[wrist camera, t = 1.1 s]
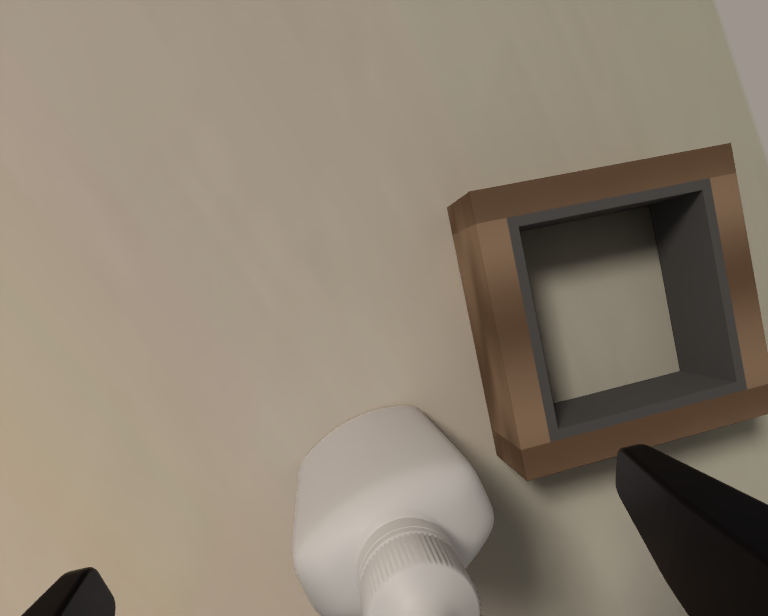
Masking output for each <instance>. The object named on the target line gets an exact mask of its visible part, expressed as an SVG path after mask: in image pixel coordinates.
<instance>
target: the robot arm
mask: <svg viewBox="0 0 768 616" xmlns="http://www.w3.org/2000/svg"><path fill="white" fill-rule="evenodd" d="M616 488H617V492H618V494H619V497H620V499H621V500H622V502H623V504H624V506H625V508H626V510H627V511H628V513H629V515H630V517H631V519H632V521H633V522H634V524H635V526H636V528H637V530H638V532H639V533H640V535H641V537H642V539H643V541H644V542H645V544H646V546H647V548H648V550H649V552H650V553H651V555H652V557H653V559H654V561H655V563H656V564H657V566H658V568H659V570H660V572H661V573H662V575H663V577H664V578H665V580H666V582H667V584H668V585H669V587H670V588H671V590H672V591H673V593H674V594H675V596H676V597H677V599H678V600H679V602H680V603H681V605H682V606H683V608H684V609H685V611H686V612H687V614H688V615H689V616H768V505H767V504H765V503H763V502H761V501H759V500H757V499H755V498H753V497H751V496H749V495H747V494H745V493H743V492H741V491H739V490H737V489H735V488H733V487H731V486H729V485H727V484H725V483H723V482H721V481H719V480H717V479H715V478H713V477H711V476H708V475H706V474H704V473H702V472H700V471H698V470H696V469H694V468H692V467H690V466H688V465H686V464H684V463H682V462H680V461H678V460H676V459H674V458H672V457H670V456H668V455H666V454H664V453H662V452H660V451H658V450H656V449H654V448H652V447H650V446H647V445H645V444H635V445H631V446H627V447H622V448H620V449H619V451H618V453H617V465H616ZM22 616H115V600H114V597H113V595H112V593H111V592H110V590H109V589H108V587H107V585H106V584H105V582H104V581H103V579H102V577H101V576H100V574H99V572H98V571H97V570H96V569H94V568H92V567H87V568H83V569H78V570H74V571H70V572H67V573H65V574H64V575H62V576H61V577H60V578H59V579H58V580H57V581H56V582H55V583H54V584H53V585H52V586H51V587H50V588H49V589H48V590H47V591H46V592H45V593H44V594H43V595H42V596H41V597H40V598H39V599H38V600H37V601H36V602H35V603H34V604H33V605H32V606H31V607H30V608H29V609H28V610H27V611H26V612H25V613H24V614H23V615H22Z"/></svg>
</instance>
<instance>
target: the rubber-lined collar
mask: <svg viewBox="0 0 768 616" xmlns="http://www.w3.org/2000/svg"><path fill="white" fill-rule="evenodd" d="M648 205H650V209H651V215H652V220H653V226H654V231H655V236H656V242H657V247H658V253H659V258H660V264H661V269H662V275H663V280H664V286H665V291H666V296H667V302H668V307H669V313H670V318H671V324H672V329H673V335H674V340H675V346H676V351H677V356H678V362H679V367H680V371H679V372H675V373H671V374H668V375H664V376H660V377H656V378H652V379H648V380H644V381H640V382H636V383H632V384H629V385H625V386H621V387H617V388H613V389H609V390H605V391H601V392H597V393H593V394H590V395H586V396H582V397H578V398H574V399H570V400H566V401H562V402H558V403H554V404H553V400H552V395H551V390H550V385H549V380H548V374H547V369H546V364H545V359H544V354H543V349H542V344H541V339H540V334H539V328H538V323H537V318H536V313H535V308H534V303H533V298H532V293H531V288H530V282H529V277H528V272H527V267H526V262H525V257H524V252H523V247H522V242H521V236H520V231H524V230H529V229H534V228H539V227H543V226H548V225H553V224H558V223H563V222H568V221H573V220H578V219H583V218H588V217H593V216H598V215H603V214H608V213H613V212H618V211H623V210H628V209H633V208H638V207H643V206H648ZM447 210H448V215H449V219H450V224H451V229H452V234H453V239H454V244H455V249H456V254H457V259H458V264H459V269H460V274H461V279H462V284H463V289H464V294H465V299H466V304H467V309H468V314H469V319H470V324H471V329H472V334H473V338H474V343H475V348H476V353H477V358H478V363H479V368H480V373H481V378H482V383H483V388H484V393H485V398H486V403H487V408H488V413H489V418H490V423H491V428H492V433H493V438H494V443H495V448H496V453H497V456H498V457H500V458H501V459H502V460H503V461H504V462H505V463H507V464H508V465H509V466H510V467H511V468H513V469H514V470H515V471H516V472H517V473H518V474H520V475H521V476H522V477H523V478H524V479H525V480H527V481H529V480H532V479H536V478H540V477H543V476H547V475H550V474H554V473H557V472H561V471H565V470H568V469H572V468H575V467H579V466H583V465H586V464H590V463H593V462H597V461H601V460H604V459H608V458H611V457H615V456H617V453H618V451H619V449H620V448H622V447H627V446H631V445H635V444H645V445H647V446H650V447H651V446H655V445H658V444H662V443H665V442H669V441H673V440H676V439H680V438H683V437H687V436H691V435H694V434H698V433H701V432H705V431H709V430H712V429H716V428H719V427H723V426H727V425H730V424H734V423H737V422H741V421H744V420H748V419H752V418H755V417H759V416H762V415H766V414H768V352H767V347H766V341H765V335H764V329H763V324H762V318H761V312H760V307H759V301H758V295H757V289H756V284H755V278H754V272H753V267H752V261H751V255H750V249H749V244H748V238H747V232H746V227H745V221H744V215H743V209H742V204H741V198H740V192H739V187H738V181H737V175H736V169H735V164H734V158H733V152H732V147H731V143H728V144H723V145H718V146H712V147H707V148H701V149H696V150H691V151H685V152H680V153H675V154H669V155H664V156H658V157H653V158H648V159H642V160H637V161H631V162H626V163H621V164H615V165H610V166H605V167H599V168H594V169H588V170H583V171H578V172H572V173H567V174H561V175H556V176H551V177H545V178H540V179H535V180H529V181H524V182H518V183H513V184H508V185H502V186H497V187H492V188H486V189H481V190H475V191H470V192H468V193H467V194H465V195H464V196H463V197H461V198H460V199H458V200H457V201H456V202H454V203H453V204H451V205H450V206H449V207H447Z"/></svg>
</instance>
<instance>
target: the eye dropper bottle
mask: <svg viewBox="0 0 768 616" xmlns="http://www.w3.org/2000/svg"><path fill="white" fill-rule="evenodd" d="M493 525H494V512H493V508H492V505H491V503H490V500H489V498H488V496H487V493H486V491H485V489H484V487H483V485H482V483H481V481H480V479H479V477H478V475H477V473H476V471H475V470H474V468H473V466H472V465H471V464H470V463H469V462H468V460H467V459H466V458H465V457H464V456H463V455H462V454H461V452H460V451H459V450H458V449H457V448H456V447H455V446H454V445H453V444H452V443H451V442H450V441H449V440H448V439H447V438H446V436H445V435H444V434H443V433H442V432H441V431H440V430H439V429H438V428H437V427H436V426H435V425H434V424H433V423H432V422H431V421H430V420H429V419H428V418H427V416H426V415H425V414H424V413H423V412H422V411H421V410H420V409H419V408H416V407H413V406H393V407H386V408H381V409H377V410H373V411H370V412H367V413H364V414H361V415H359V416H357V417H354V418H352V419H350V420H348V421H347V422H345V423H343V424H342V425H340V426H338V427H337V428H335V429H334V430H333V431H331V432H330V433H329V434H327V435H326V436H325V437H324V438H323V439H322V440H320V441H319V442H318V443H317V444H316V445H315V446H314V447H313V448H312V449H311V451H310V452H309V453H308V454H307V455H306V457H305V458H304V459H303V461H302V463H301V465H300V468H299V475H298V484H297V494H296V505H295V516H294V527H293V544H292V554H293V562H294V569H295V571H296V574H297V576H298V578H299V581H300V583H301V585H302V587H303V589H304V591H305V593H306V595H307V597H308V599H309V601H310V602H311V604H312V606H313V607H314V609H315V611H317V612H318V613H319V614H320V615H321V616H481V614H480V613H481V608H480V606H481V603H480V601H479V600H480V598H479V596H478V592H477V590H476V587H475V585H474V583H473V582H472V580H471V578H470V576H469V574H468V573H467V571H466V568H467V566H468V565H469V564H470V563H471V561H472V560H473V559H474V558H475V557H476V555H477V554H478V553H479V551H480V550H481V548H482V547H483V545H484V544H485V542H486V540H487V539H488V537H489V535H490V534H491V531H492V528H493Z"/></svg>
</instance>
